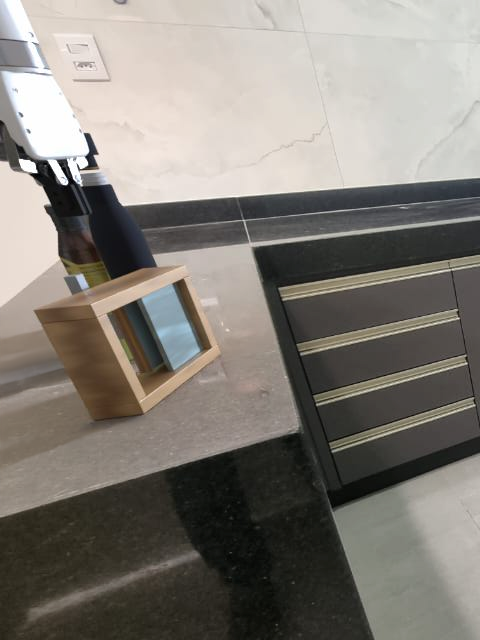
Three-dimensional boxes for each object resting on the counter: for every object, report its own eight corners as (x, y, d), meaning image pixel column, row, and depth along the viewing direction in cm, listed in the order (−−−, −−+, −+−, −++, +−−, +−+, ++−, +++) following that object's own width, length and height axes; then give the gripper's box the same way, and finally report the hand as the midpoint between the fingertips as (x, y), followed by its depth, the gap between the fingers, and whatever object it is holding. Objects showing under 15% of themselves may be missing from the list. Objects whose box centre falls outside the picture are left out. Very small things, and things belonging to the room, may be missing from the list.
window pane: (113, 377, 65) (62, 277, 60) (150, 354, 72) (107, 262, 66) (149, 373, 66) (102, 273, 60) (182, 350, 72) (143, 259, 67)
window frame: (92, 420, 59) (32, 309, 53) (181, 358, 75) (142, 268, 69) (144, 414, 60) (90, 304, 54) (221, 353, 76) (185, 264, 70)
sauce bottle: (101, 315, 96) (46, 202, 88) (144, 309, 98) (94, 199, 90) (84, 325, 91) (24, 206, 82) (130, 319, 93) (76, 203, 85)
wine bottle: (145, 323, 90) (59, 133, 78) (121, 321, 92) (33, 134, 80) (185, 311, 96) (110, 132, 83) (161, 309, 98) (85, 133, 85)
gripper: (20, 68, 70) (85, 210, 77) (-100, 53, 57) (-8, 227, 64) (85, 66, 71) (143, 206, 79) (-18, 52, 58) (63, 222, 65)
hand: (75, 215), depth 71 cm, fingers closed
